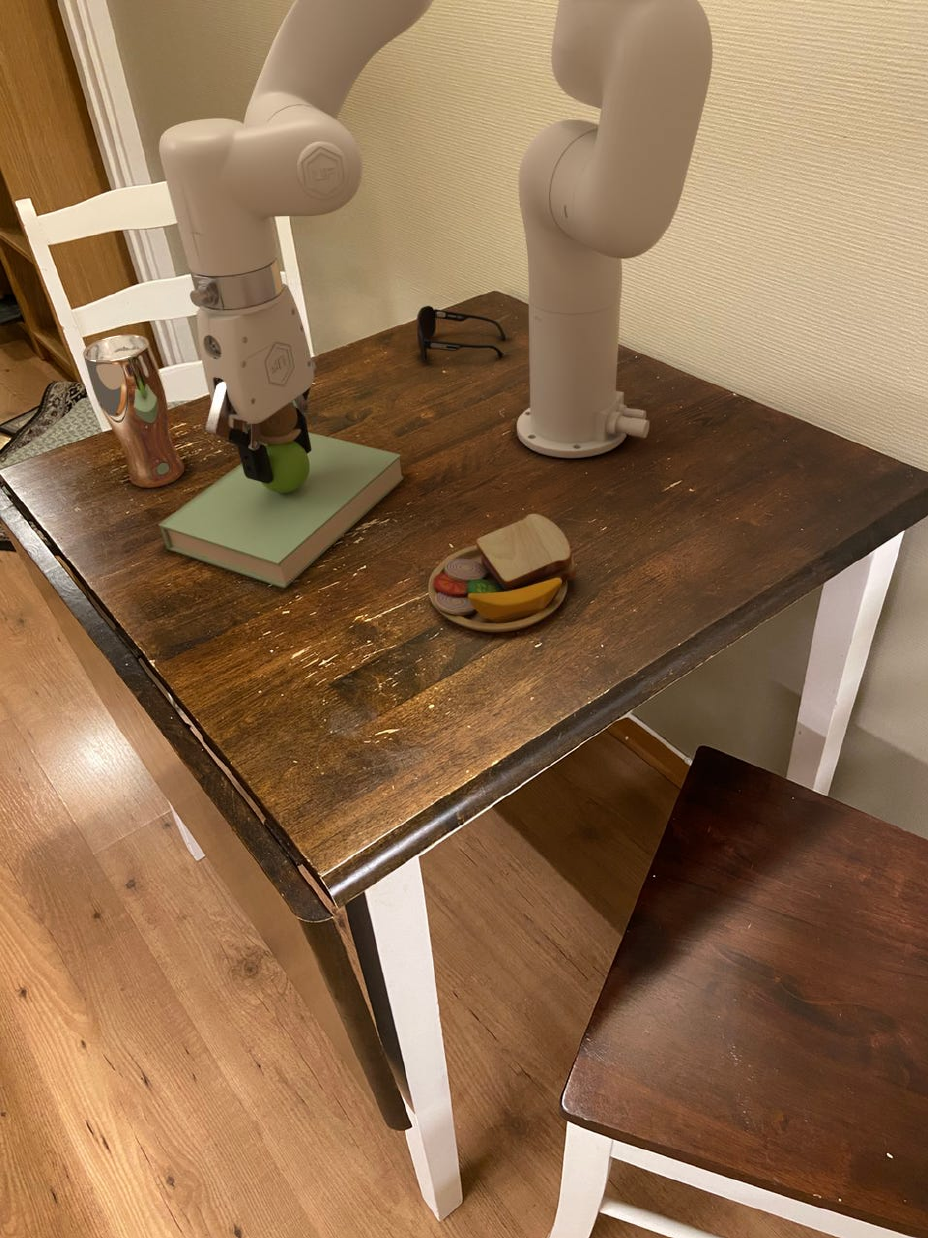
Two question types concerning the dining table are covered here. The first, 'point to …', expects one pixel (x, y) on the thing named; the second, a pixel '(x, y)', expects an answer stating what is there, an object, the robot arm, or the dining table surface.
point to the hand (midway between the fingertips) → (278, 462)
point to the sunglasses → (428, 326)
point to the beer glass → (135, 407)
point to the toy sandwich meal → (505, 577)
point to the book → (283, 512)
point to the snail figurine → (283, 450)
